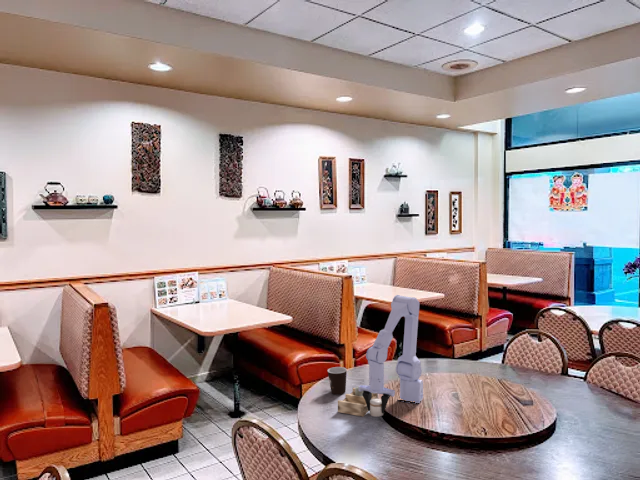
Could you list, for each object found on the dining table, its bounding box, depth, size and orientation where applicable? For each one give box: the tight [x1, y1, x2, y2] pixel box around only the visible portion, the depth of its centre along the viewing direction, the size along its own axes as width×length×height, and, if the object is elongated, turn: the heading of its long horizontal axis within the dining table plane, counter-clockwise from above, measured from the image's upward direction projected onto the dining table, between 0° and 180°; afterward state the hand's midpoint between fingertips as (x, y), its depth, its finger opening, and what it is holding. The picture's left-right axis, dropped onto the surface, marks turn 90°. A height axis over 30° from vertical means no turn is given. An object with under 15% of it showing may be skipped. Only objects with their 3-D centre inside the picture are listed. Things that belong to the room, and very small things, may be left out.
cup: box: [369, 398, 384, 418], centre depth 195 cm, size 5×5×6 cm
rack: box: [337, 385, 379, 417], centre depth 204 cm, size 11×17×6 cm, turn 154°
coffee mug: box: [327, 366, 348, 396], centre depth 222 cm, size 12×9×10 cm
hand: (376, 411), depth 195 cm, fingers closed on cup, 5 cm apart
